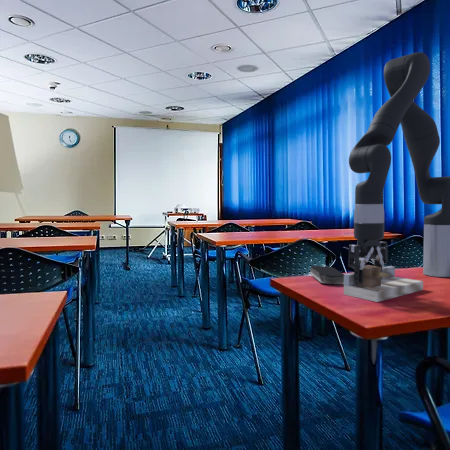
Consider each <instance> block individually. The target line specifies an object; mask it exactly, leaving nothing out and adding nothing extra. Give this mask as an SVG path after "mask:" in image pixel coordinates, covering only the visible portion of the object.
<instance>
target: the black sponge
mask: <svg viewBox="0 0 450 450" xmlns="http://www.w3.org/2000/svg"><path fill="white" fill-rule="evenodd" d="M309 271H310V273H309V274H310V275H311V276H312V278H314V279H316V281H318V282H319V283H321V284H328V285H340V284H342V285H343V286H344V274H345V273H342V272H341V271H340V270H338V269H336V268H335V267H332V266H324V265H311V266H310V270H309Z"/></svg>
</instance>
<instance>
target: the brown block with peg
mask: <svg viewBox="0 0 450 450" xmlns="http://www.w3.org/2000/svg"><path fill="white" fill-rule="evenodd" d="M362 270H363V284H357V286H362V287H367V288H372V287H376V286H381V277H385V278H387V277H388V276H389V274H388V273H383V272H381V267H378V266H375V265H370V264H365V265H364V267H363V269H362Z"/></svg>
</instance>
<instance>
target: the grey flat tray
mask: <svg viewBox="0 0 450 450" xmlns="http://www.w3.org/2000/svg"><path fill="white" fill-rule="evenodd" d="M382 272H383V273H388V274H389V276H388V277H387V278H385V277H382V279H381V286H376V287H372V288H367V287H362V286H357V283H355V282H354V272H349V273H343V274H344V285H343V295H345V296H349V297H353V298H357V299H362V300H365V301H371V302H373V303H374V302H375V303H379V302H383V301H387V300H391V299H394V298H398V297H402V296H405V295H409V294H412V293H418V292H419V291H423V290H424V280H419V279H412V278H407V277H399V276H396V266H394V265H393V266H392V265H388V266H382Z"/></svg>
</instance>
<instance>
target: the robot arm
mask: <svg viewBox="0 0 450 450" xmlns="http://www.w3.org/2000/svg"><path fill="white" fill-rule="evenodd" d="M430 74H431V63H430V59H429V57H428V55H427V54H426V53H425V52H422V51H421V52H419V51H418V52H412V53H409V54H406V55H403V56H399V57H395V58H393V59H390V60H388V61H387V62H385V65H384V67H383V78H384V79H383V80H384V84H385V86H386V89H387V92H388V94H389V96H390V98H389V99H388V100H386V101H385V102H384V104H382V105H381V106H380V108H378V110H377V111H376V112H375V114H374V116H373V118H372V120H371V122H370V124H369V127H368V129H367V131H366V132H365V133H364V134H363V135H362V136H361V138H360V139H359V140H358V141H357V143H356V144H355V145H354V147H353V148H352V149H351V151H350V154H349V158H348V166H349V169H350V170H351V171H352V172H354V173H356V174H367V173H368V177H367V179H366V180H364V181H362V182H359V183H356V185H355V190H354V191H355V192H354V193H355V194H354V196H355V197H354V199H355V200H354V204H355V205H354V211H353V238H354V239H355V240H357V241H356V244H351V243H350V244H349V245H348V257H347V259H348V262H347V266H348V268H352V269H353V273H354V282H355V283H357V284H363V270H362V269H363V267H364V266H366V264H367V263H368V262H369V260H371V262H372V265H373V266H378V267H381V272H382V267H385V264H388V263H389V260H388V259H389V257H388V256H389V253H388V252H389V251H388V242H387V241H382V240H383V239H384V238H385V209H384V188H385V185H386V181H387V178H388V174H389V171H390V168H391V166H392V165H391V164H392V154H391V151H390V149H389V147H388V146H389V145H391V143H392V142H393V140H394V139H395V136H396V133H397V131H398V129H399V126H401V129H402V133H403V138H404V141H405V144H406V148H407V150H408V153H409V156H410V159H411V162H412V166H413V170H414V175H415V181H416V185H417V186H416V187H417V190H418V196H419V198H420V200H421V202H422V203H424V204H425V205H441V208H440V209H439V210H438V211H436V212H433V213H431V214H428V215H425V216H424V218H423V259H422V260H423V263H422V265H423V266H422V267H423V268H422V274H423V275H426V276H430V277H439V278H450V176H449V175H448V176H435V177H433V176H431V174H430V166H431V164H432V161H433V159H434V158H435V156H436V153H437V151H438V150H439V147H440V143H441V140H440V135H439V130H438V127H437V124H436V121H435V120H434V118H433V117H432V116H431V115H430V114H429V113H427V111H425V110H424V109H422V108H421V106H419V105H418V104H417V103H416V102H415V99H416V98H417V96H418V95H419V93H420V92H421V90H422V89H423V88H424V86H425V84H427V81H428V79H429V77H430ZM381 279H382V277H381Z"/></svg>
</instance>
